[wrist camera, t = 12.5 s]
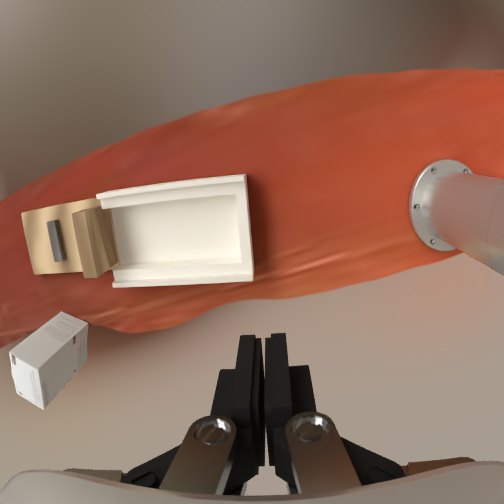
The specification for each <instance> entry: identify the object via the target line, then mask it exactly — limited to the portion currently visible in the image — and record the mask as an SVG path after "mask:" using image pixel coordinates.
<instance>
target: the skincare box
mask: <svg viewBox="0 0 504 504" xmlns="http://www.w3.org/2000/svg"><path fill="white" fill-rule="evenodd" d="M88 327H89V324H88V323H87V322H85V321H82V320H80V319H78V318H75V317H73V316H71V315H69V314H67V313H64V312H60V313H59V314H58V315H56V316H55V317H54V318H52V319H51V320H50V321H48V322H47V323H46V324H44V325H43V326H42V327H40V328H39V329H38V330H37V331H35V332H34V333H33V334H31V335H30V336H29V337H28V338H26V339H25V340H24V341H22V342H21V343H20V344H18V345H17V346H16V347H15V348H13V349H12V350H11V351H10V352H9V354H10V360H11V366H12V377H13V379H14V382H15V387H16V392H17V394H19V395H20V396H22V397H23V398H25V399H27V400H28V401H30V402H32V403H33V404H35V405H36V406H38V407H40V408H42V409H43V410H45V408H46V407H47V405H48V404H49V403H50V402H51V401H52V400H53V399H54V397H55V396H56V395H57V394H58V393H59V392H60V391H61V390H62V388H63V387H64V386H65V385H66V384H67V383H68V382H69V381H70V380H71V378H72V377H73V376H74V375H75V374H76V373H77V372H78V370H79V369H80V368H81V367H82V366H83V365H84V364H85V363H86V361H87V360H88V355H87V339H88Z"/></svg>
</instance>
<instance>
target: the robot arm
mask: <svg viewBox="0 0 504 504" xmlns="http://www.w3.org/2000/svg"><path fill="white" fill-rule="evenodd" d="M431 169H432V172H431ZM414 205H415V208H414ZM409 215H410V220H411V223H412V226H413V229H414V231H415V233H416V234H417V236H418V237H419V238H420V240H422V241H423V242H424V243H425V244H426V245H428V246H429V247H431V248H433V249H436V250H439V251H452V250H455V249H458V250H460V251H462V252H464V253H466V254H468V255H469V256H471V257H473V258H475V259H476V260H478V261H480V262H482V263H483V264H485V265H487V266H488V267H490V268H492V269H494V270H495V271H497V272H499V273H500V274H502V275H504V179H503V178H497V177H490V176H484V175H477V174H474V173H473V172H472V171H471V170H470V169H469V168H468V167H467V166H466V165H464V164H463V163H461V162H458V161H455V160H450V159H443V160H438V161H435V162H433V163H430V164H429V165H428V166H426V167H425V168H424V169H423V170H422V171H421V172H420V173H419V175H418V176H417V178H416V180H415V181H414V184H413V186H412V189H411V193H410V198H409ZM265 427H266V433H267V444H268V454H269V465H270V466H275V473H276V475H277V476H278V477H280V478H281V479H283V480H284V481H286V482H287V490H288V494H289V495H270V496H244V495H245V491H246V488H247V481H248V480H250V479H251V478H252V477H254V476H255V475H258V471H259V466H265ZM0 504H504V462H500V461H475V460H474V459H471V458H468V457H457V458H450V459H442V460H432V461H422V462H408V464H407V465H406V466H400V465H399V464H397V463H396V462H394V461H392V460H389V459H387V458H385V457H382V456H380V455H378V454H376V453H374V452H371V451H369V450H367V449H365V448H363V447H361V446H359V445H356V444H354V443H352V442H350V441H348V440H346V439H344V438H342V437H340V435H339V433H338V431H337V429H336V426H335V424H334V422H333V421H332V419H331V418H330V417H328V416H327V415H325V414H322V413H319V412H317V411H316V405H315V399H314V393H313V388H312V382H311V376H310V370H309V366H308V365H302V366H289V365H288V355H287V343H286V334H285V333H275V334H271V338H265V378H264V367H263V355H262V343H261V338H256V337H255V335H241V336H240V342H239V347H238V355H237V361H236V367H235V369H221V370H220V372H219V377H218V381H217V386H216V391H215V395H214V400H213V404H212V410H211V414H210V416H205V417H202V418H200V419H198V420H196V421H195V422H193V424H192V425H191V426H190V427H189V429H188V431H187V433H186V435H185V437H184V439H183V441H182V443H181V445H179V446H177V447H175V448H173V449H171V450H169V451H167V452H166V453H164V454H162V455H160V456H158V457H156V458H154V459H152V460H150V461H148V462H146V463H144V464H142V465H139V466H137V467H135V468H133V469H132V470H130V471H129V472H128V473H123V472H122V470H93V469H76V468H72V469H66V470H63V471H61V470H49V469H44V470H27V471H23V472H20V473H18V474H16V475H15V476H13V477H12V478H11V479H10V480H8V482H7V483H6V484H5V485H4V486H3V487H2V489H1V490H0Z"/></svg>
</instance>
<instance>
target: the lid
mask: <svg viewBox="0 0 504 504" xmlns="http://www.w3.org/2000/svg"><path fill="white" fill-rule="evenodd" d="M21 215H22V220H23V226H24V231H25V237H26V241H27V246H28V251H29V255H30V259H31V264H32V268H33V272H34V274H51V273H67V272H83V274H84V278H98V277H99V276H100V275H102V274H103V273H104V272H106V271H107V270H114V269H115V268H117V267H118V266H119V265H121V264H120V259H119V254H118V249H117V243H116V237H115V231H114V225H113V219H112V212H111V208H108V209H102V207H101V200H100V199H97V198H92V199H86V200H81V201H76V202H70V203H65V204H60V205H55V206H50V207H45V208H41V209H36V210H31V211H27V212H23V213H21Z"/></svg>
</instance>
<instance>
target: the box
mask: <svg viewBox="0 0 504 504" xmlns="http://www.w3.org/2000/svg"><path fill="white" fill-rule="evenodd" d="M96 197H97V199H100V200H101V207H102V209H108V208H111V212H112V219H113V225H114V231H115V237H116V243H117V249H118V254H119V259H120V264H121V265H119V266H118V267H117V268H115V269H114V270H113V274H114V278H115V281H114V282H113V283H112V285H113V288H115V287H143V286H167V285H189V284H208V283H226V282H243V281H253V277H254V257H253V246H252V234H251V223H250V211H249V200H248V188H247V177H246V174H240V175H229V176H219V177H209V178H200V179H191V180H183V181H175V182H167V183H159V184H152V185H145V186H138V187H131V188H125V189H119V190H112V191H108V192H104V193H100V194H96Z"/></svg>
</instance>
